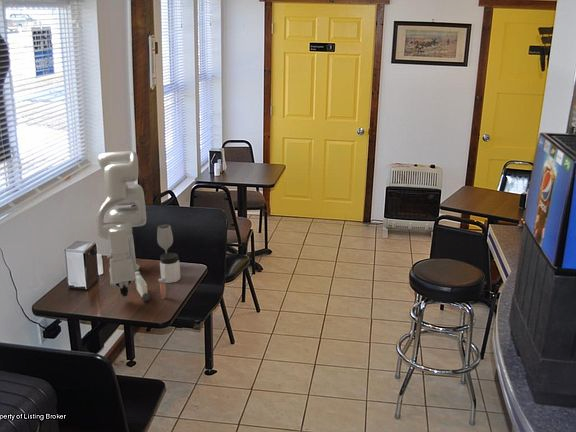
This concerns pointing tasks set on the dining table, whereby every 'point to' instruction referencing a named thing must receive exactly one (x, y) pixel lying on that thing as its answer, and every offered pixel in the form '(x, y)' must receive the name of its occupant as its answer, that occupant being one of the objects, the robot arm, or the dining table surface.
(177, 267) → the jar
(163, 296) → the end post
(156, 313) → the dining table surface
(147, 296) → the gate
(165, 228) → the wineglass
